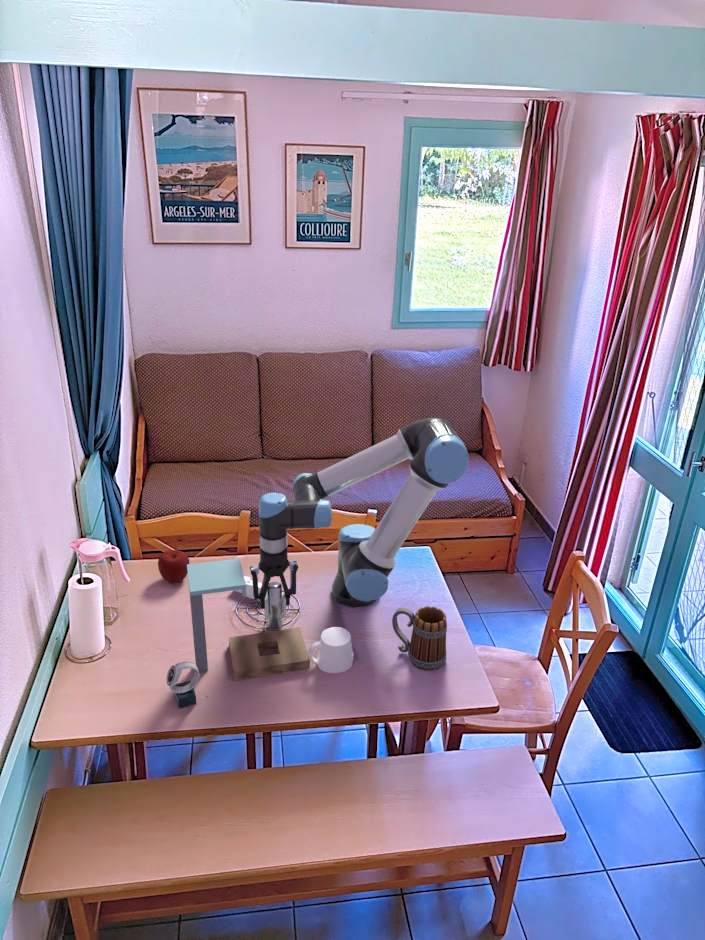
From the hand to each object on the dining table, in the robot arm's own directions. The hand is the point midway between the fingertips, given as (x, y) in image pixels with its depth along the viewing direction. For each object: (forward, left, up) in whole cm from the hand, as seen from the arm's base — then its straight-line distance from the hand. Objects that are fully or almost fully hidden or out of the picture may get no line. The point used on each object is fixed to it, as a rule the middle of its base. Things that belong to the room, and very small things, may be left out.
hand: (275, 615), depth 209 cm
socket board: (+4, +13, -4) cm, 14 cm away
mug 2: (-36, +22, -4) cm, 42 cm away
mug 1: (-12, +20, -4) cm, 23 cm away
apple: (+27, -29, -4) cm, 40 cm away
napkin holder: (+5, -17, -4) cm, 18 cm away
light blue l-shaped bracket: (+17, +13, -4) cm, 22 cm away
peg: (0, 0, -4) cm, 4 cm away
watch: (+27, +24, -4) cm, 36 cm away
